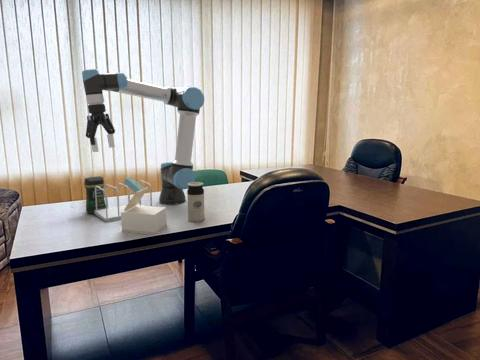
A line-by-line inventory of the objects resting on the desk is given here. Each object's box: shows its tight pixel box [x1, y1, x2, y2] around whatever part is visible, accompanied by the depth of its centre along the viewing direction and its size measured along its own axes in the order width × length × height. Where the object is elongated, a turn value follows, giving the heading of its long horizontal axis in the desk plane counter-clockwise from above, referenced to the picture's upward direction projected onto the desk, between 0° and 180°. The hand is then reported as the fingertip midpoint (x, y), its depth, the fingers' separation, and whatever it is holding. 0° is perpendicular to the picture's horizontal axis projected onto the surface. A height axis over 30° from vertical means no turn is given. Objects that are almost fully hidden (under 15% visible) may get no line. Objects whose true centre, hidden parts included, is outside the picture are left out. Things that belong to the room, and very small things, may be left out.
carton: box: [120, 205, 168, 236], centre depth 169 cm, size 16×12×9 cm
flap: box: [123, 176, 149, 211], centre depth 168 cm, size 11×10×9 cm
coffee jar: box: [83, 176, 106, 214], centre depth 196 cm, size 10×8×19 cm
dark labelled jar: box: [186, 181, 205, 223], centre depth 182 cm, size 8×8×18 cm
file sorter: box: [93, 179, 153, 223], centre depth 193 cm, size 25×17×16 cm
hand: (104, 149), depth 178 cm, fingers open, 13 cm apart
